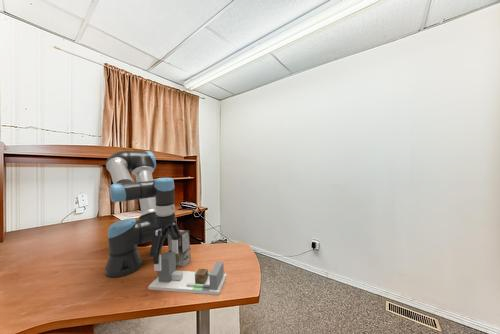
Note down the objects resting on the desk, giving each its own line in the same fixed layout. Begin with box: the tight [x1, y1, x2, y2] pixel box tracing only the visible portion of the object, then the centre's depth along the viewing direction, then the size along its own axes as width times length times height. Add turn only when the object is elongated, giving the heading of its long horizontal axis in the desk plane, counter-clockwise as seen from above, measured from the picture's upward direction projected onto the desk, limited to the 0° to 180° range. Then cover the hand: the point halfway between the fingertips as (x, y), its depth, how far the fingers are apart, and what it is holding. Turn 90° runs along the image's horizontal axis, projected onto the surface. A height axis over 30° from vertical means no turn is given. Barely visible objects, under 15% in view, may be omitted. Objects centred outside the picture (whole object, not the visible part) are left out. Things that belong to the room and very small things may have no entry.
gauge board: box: [148, 261, 227, 296], centre depth 85 cm, size 30×12×7 cm, turn 82°
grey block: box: [157, 251, 183, 282], centre depth 86 cm, size 9×6×10 cm, turn 82°
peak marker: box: [195, 268, 209, 284], centre depth 84 cm, size 4×4×4 cm
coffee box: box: [167, 229, 192, 268], centre depth 101 cm, size 9×6×16 cm
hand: (167, 261), depth 86 cm, fingers open, 13 cm apart
